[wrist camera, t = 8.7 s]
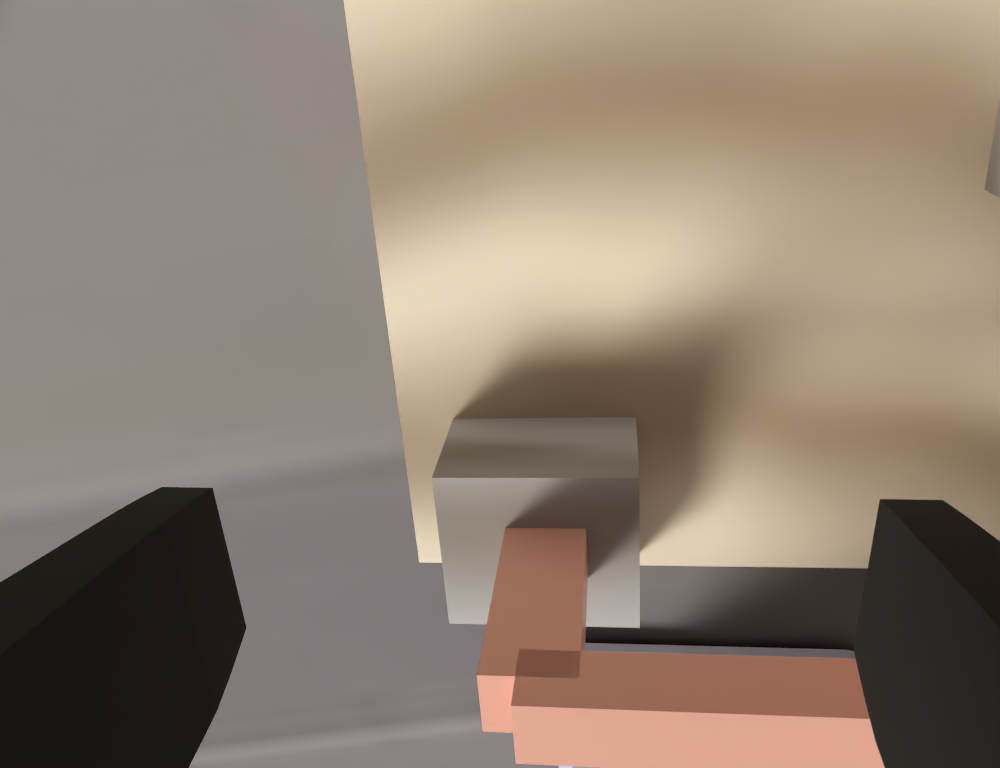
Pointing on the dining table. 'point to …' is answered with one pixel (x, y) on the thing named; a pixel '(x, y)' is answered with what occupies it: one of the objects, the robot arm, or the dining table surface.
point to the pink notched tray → (648, 685)
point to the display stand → (684, 274)
